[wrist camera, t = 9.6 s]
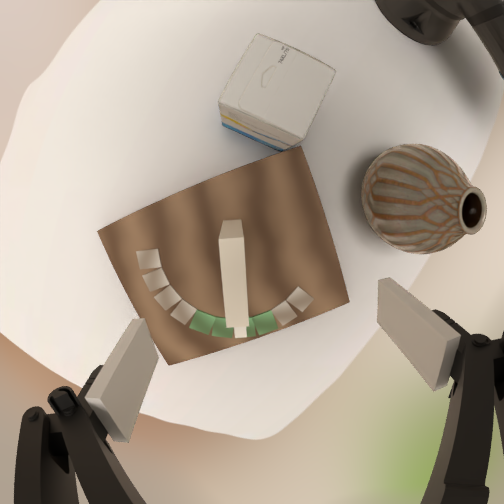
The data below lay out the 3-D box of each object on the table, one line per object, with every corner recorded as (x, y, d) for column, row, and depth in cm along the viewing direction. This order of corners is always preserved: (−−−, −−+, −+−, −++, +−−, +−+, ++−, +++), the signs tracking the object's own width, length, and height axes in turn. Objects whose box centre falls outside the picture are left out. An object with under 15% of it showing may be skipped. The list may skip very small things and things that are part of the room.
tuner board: (297, 147, 35) (301, 145, 32) (344, 296, 40) (350, 302, 38) (103, 228, 36) (96, 231, 33) (171, 358, 41) (168, 366, 39)
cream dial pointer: (223, 217, 34) (218, 238, 23) (240, 216, 34) (243, 237, 23) (233, 335, 38) (234, 392, 27) (248, 334, 38) (253, 391, 27)
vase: (328, 203, 37) (397, 228, 20) (377, 128, 34) (461, 109, 17) (392, 255, 39) (469, 302, 22) (435, 186, 37) (520, 200, 20)
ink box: (282, 153, 35) (303, 143, 24) (220, 125, 33) (214, 103, 22) (309, 98, 33) (339, 69, 22) (249, 70, 32) (256, 30, 20)
